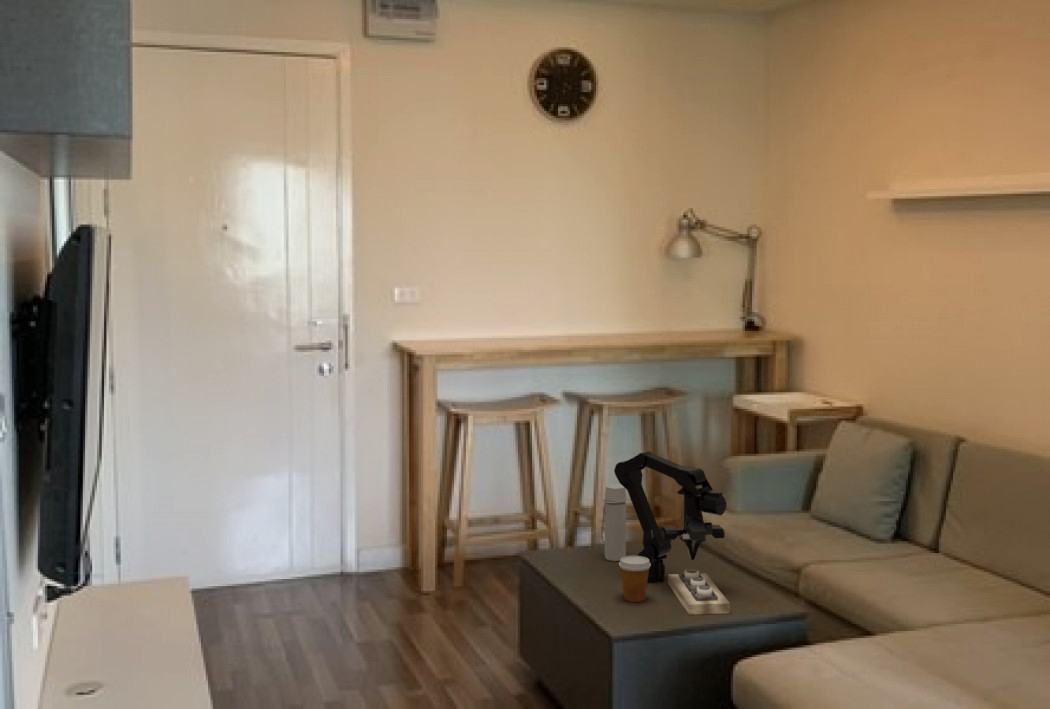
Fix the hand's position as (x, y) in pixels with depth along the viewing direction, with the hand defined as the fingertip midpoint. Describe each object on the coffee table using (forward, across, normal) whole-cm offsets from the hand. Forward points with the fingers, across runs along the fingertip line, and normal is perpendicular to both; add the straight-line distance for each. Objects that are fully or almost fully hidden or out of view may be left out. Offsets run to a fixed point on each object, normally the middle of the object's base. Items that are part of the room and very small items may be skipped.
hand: (692, 559), depth 328 cm
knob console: (+10, 0, -8) cm, 12 cm away
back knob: (+7, 0, 0) cm, 7 cm away
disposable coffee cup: (+10, -19, -7) cm, 23 cm away
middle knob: (+7, 0, -8) cm, 10 cm away
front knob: (+7, 0, -16) cm, 17 cm away
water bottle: (+9, -19, +34) cm, 40 cm away
